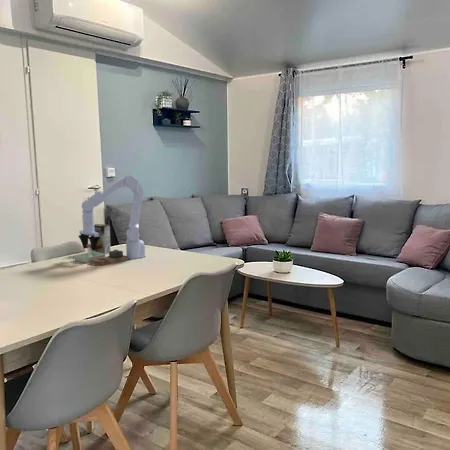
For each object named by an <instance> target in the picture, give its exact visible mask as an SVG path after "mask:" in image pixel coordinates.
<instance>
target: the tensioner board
mask: <svg viewBox="0 0 450 450" xmlns="http://www.w3.org/2000/svg"><path fill="white" fill-rule="evenodd" d="M128 260H129V258H128V256H127V255H124V252H123V250H119V249H113V250H110V252H109V253H108V256H105V257H102V258H96V259H91V260H89V263H88V264H90V265H94V266H97V267H98V266H99V267H100V266H105V265H110V264H115V263H119V262H120V263H121V262H125V261H128Z"/></svg>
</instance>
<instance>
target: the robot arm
mask: <svg viewBox="0 0 450 450" xmlns="http://www.w3.org/2000/svg"><path fill="white" fill-rule="evenodd" d="M120 188H129V189H130V191H131V192H132V194H133V197H132V198H133V199H132V204H131V211H130V220H129V224H128V227H127V229H126V231H125V236H126V238H127V239H125V245H126V246H125V249H126V256H128V260H134V259H135V260H137V259H140V258H145V257H147V256H146V251H145V245H146V244H145V242H144V241H143V239H140V236H141V234H140V232H139V231H140V230H139V228H140V227H139V226H140V225H139V224H140V219H141V218H140V217H141V210H142V202H143V196H144V190H143V188H142V186H141V183H140V181H139V179H138V178H136V176H135V175H131V174H126V175H125V176H124V177H121V178H119V179H118V180H116V181H114V182H113V183H112V184H111V185H109V186H108V187H107V188H106V189H104V190H103V191H102V190H98V191H95V192H94V193H93V195H91V196H90V197H88V196H87V198H86V199H85V200H84V201H82V203H81V208H82V229H81V230H79V234H78V238H79V240H80V242H81V245H82V248H83V249H88V246H87V244H91V249H92V250H96V247H97V243H98V240H99V238H100V237H99V233H97V232H95V230H94V224H95V214H94V208H95V207H96V208H97V207H98V206H99V205H101V204H102V203H103V202H105V201H106V200H107V197H108V196H109V195H111V194H112V193H114V192H115V191H117V190H118V189H120ZM91 236H92V237H91ZM89 242H90V243H89Z"/></svg>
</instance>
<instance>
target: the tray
mask: <svg viewBox="0 0 450 450" xmlns="http://www.w3.org/2000/svg"><path fill="white" fill-rule="evenodd" d="M102 257H106V254H102V253H97V252H93V256H92V257H88V252H83V253H78V254H74V261H75V262H79V263H83V264H84V263H85V264H90V263H89V260H91V259H96V258H102Z"/></svg>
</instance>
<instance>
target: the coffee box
mask: <svg viewBox="0 0 450 450" xmlns="http://www.w3.org/2000/svg"><path fill="white" fill-rule="evenodd" d="M110 226H111V225H110V224H101V223H100V224H99V223H94V230H95V232H97V233H99V237H100V238H99V240H98V243H97V247H96V250H93V252H97V253H102V254H105V255H107V254H109V252H110V251H111V227H110ZM90 237H92V236H90Z"/></svg>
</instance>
